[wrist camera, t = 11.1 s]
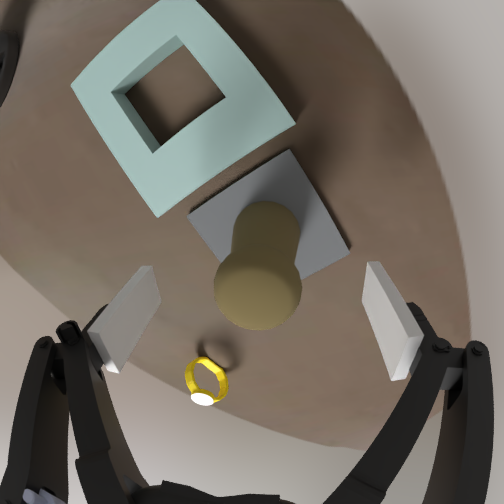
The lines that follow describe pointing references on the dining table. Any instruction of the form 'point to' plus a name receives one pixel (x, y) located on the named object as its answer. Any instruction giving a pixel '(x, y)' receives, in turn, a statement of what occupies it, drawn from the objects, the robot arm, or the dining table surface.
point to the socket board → (198, 131)
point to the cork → (260, 268)
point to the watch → (201, 394)
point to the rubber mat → (282, 192)
